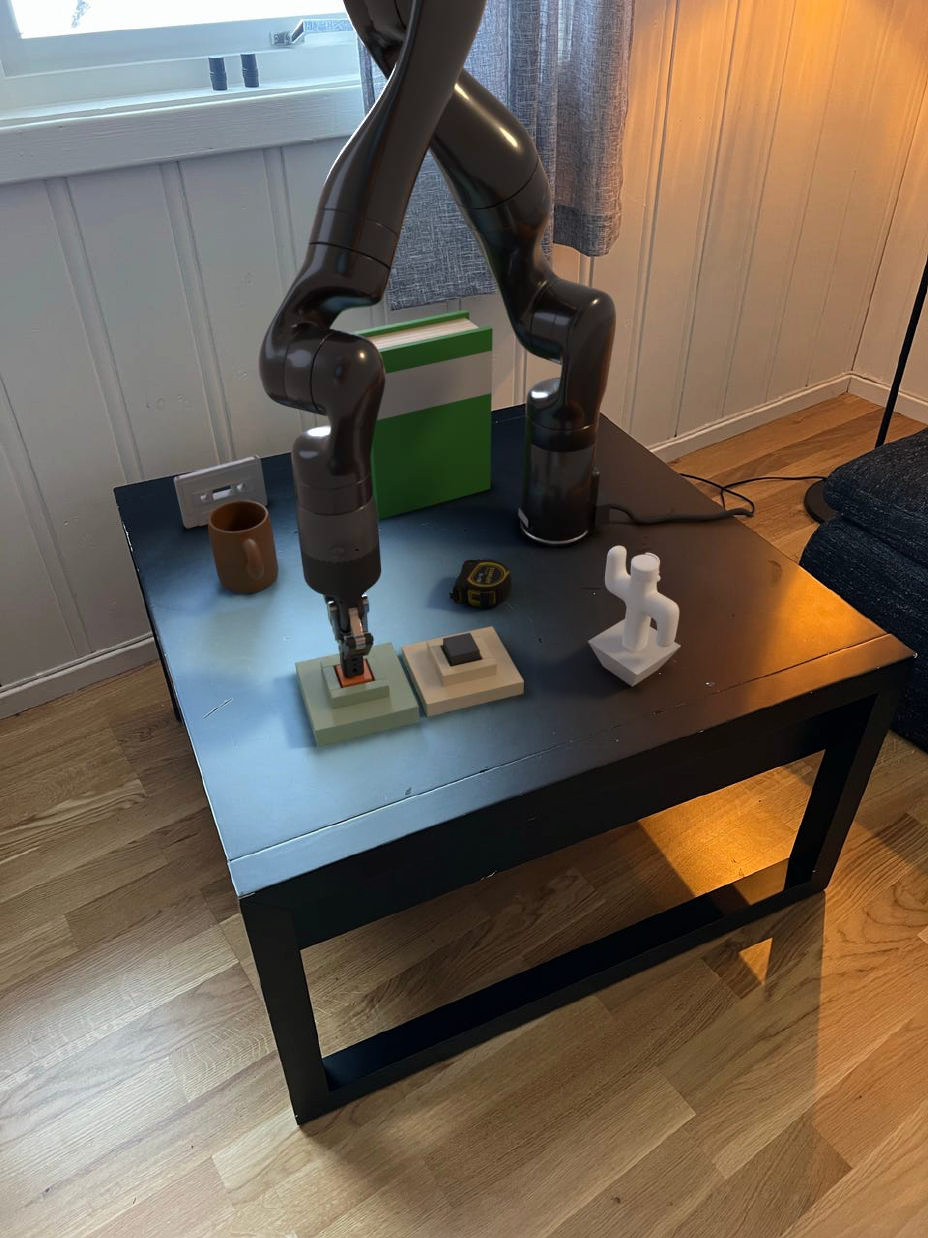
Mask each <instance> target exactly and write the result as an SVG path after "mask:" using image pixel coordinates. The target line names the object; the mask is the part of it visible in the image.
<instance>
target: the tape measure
mask: <svg viewBox="0 0 928 1238" xmlns="http://www.w3.org/2000/svg"><path fill="white" fill-rule="evenodd" d="M461 565H462V566H461V570H460V573H459V575H458V576H457V578H456V581H455V582H454V585H453V588H452V590H451V591H452V592H448V595H449V599H450V600H452V601H453V603H454V604H456V605H460V606H465V605H467V604H468V605H470V606H472V607H476V608H492V607H497V606H500V605H501V604H503V603H504V602H505V601H507V599H508V598H509V596H510V594H511V592H512V586H513V583H512V575H511V571H510V569H509V568H508V567H507V566H506V565H505V564H504V563H502V562H500V561H497V560H495V559H491V558H487V559H486V558H483V559H466V560H464V561H463V563H462V564H461Z"/></svg>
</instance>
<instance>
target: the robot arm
mask: <svg viewBox="0 0 928 1238" xmlns="http://www.w3.org/2000/svg"><path fill="white" fill-rule="evenodd" d="M341 2H342V5H343V7H344V10H345V13H346V15H347V17H348V20H349V22H350V24H351V27H352V29H353V30H354V31H355V33H356V35H357V37H358V38H359V40H360V42H361V43H362V45H363V47H364V48H365V51H367V53H368V54H369V56H370V58H371V59H372V61H373V62H374V63H375V65H376V66H377V68H378V70H379V71H380V72H381V74H382V76H383V77H384V78H385V80H386V81H387V83H386V84H385V86H384V87H383V89H382V91H381V93H380V95H379V97H378V98H377V100H376V101H375V103H374V104H373V106H372V108H371V109H370V110H369V113H368V114H367V115H366V116H365V118H364V119H363V121H362V122H361V123H360V125H359V126H358V128H357V129H356V130H355V132H354V133H353V134H352V136H351V137H350V139H349V140H348V141H347V143H346V145H344V147H343V148H342V150H341V151H340V153H339V155H338V156H337V158H336V160H335V161H334V163H333V165H332V166H331V168H330V170H329V172H328V174H327V175H326V178H325V181H324V184H323V186H322V188H321V192H320V195H319V197H318V202H317V205H316V209H315V215H314V219H313V222H312V226H311V231H310V235H309V239H308V242H307V247H306V251H305V256H304V260H303V262H302V265H301V266H300V268H299V271H298V272H297V274H296V275H295V278H294V279H293V281H292V282H291V285H290V287H289V288H288V291H287V292H286V295H285V296H284V297H283V300H282V302H281V303H280V305H279V307H278V309H277V310H276V313H275V314H274V316H273V318H272V320H271V322H270V323H269V326H268V328H267V330H266V332H265V333H264V336H263V338H262V342H261V344H260V348H259V354H258V373H259V380H260V383H261V385H262V386H261V387H262V389H263V390H264V392H265V394H266V395H267V396H268V397H269V399H270V400H272V401H273V402H275V403H276V404H279V405H281V406H283V407H286V408H287V407H288V408H292V409H296V410H300V411H303V412H308V413H312V414H315V415H318V416H319V415H320V416H323V417H327V419H328V422H329V424H327V425H319V426H314V427H311V428H308V429H306V430H304V431H303V432H301V433H300V434H298V435H297V437H295V439H294V440H293V443H292V445H291V451H290V461H291V468H292V470H291V471H292V477H293V485H294V493H295V500H296V510H295V511H296V512H295V513H296V514H295V515H296V517H295V518H296V527H297V535H298V541H299V551H300V557H301V565H302V572H303V578H304V582H305V583H306V584H307V586H308V587H309V588H310V589H311V590H312V591H314V592H316V593H318V594H320V595H322V598H323V601H324V604H325V605H326V612H327V618H328V621H329V624H330V626H331V627H332V629H331V630H332V633H333V636H334V640H335V641H336V643H337V645H338V646H337V648H338V652H339V653H340V662H341V668H342V671H343V674H344V677H345V678H351V677H355V676H360V675H363V674H364V660H363V656H366V655H368V654H369V652H370V650H371V648H372V646H374V641H375V638H374V635H372V633H371V632H370V631H369V621H368V619H369V618H368V614H369V612H370V601H369V597H368V594H365V593H367V592H368V591H369V590H370V589H371V588H372V587H374V586H375V585H377V583H378V582H379V580H380V578H381V576H382V559H381V558H382V557H381V545H380V529H379V520H378V516H377V509H376V504H375V500H374V495H373V483H372V470H371V450H372V444H373V438H374V433H375V428H376V422H377V418H378V413H379V409H380V405H381V401H382V397H383V393H384V388H385V383H386V370H385V365H384V362H383V359H382V356H381V354H380V352H379V350H378V349H377V347H376V346H375V345H374V343H373V342H372V341H370V340H369V339H368V338H366V337H364V336H361V335H358V334H354V333H351V332H349V331H344V330H339V329H335V328H331V327H332V326H333V324H334V323H335V321H336V320H337V318H338V317H339V316H340V315H341V314H342V313H343V312H345V311H348V310H353V309H354V310H355V309H362V308H370V307H374V306H376V305H378V304H380V303H381V301H382V300H383V299H384V297H385V294H386V291H387V289H388V285H389V281H390V277H391V272H392V270H393V265H394V261H395V258H396V255H397V250H398V246H399V242H400V238H401V234H402V231H403V227H404V222H405V217H406V215H407V211H408V209H409V208H408V207H409V204H410V200H411V197H412V194H413V191H414V188H415V185H416V182H417V179H418V176H419V174H420V171H421V168H422V165H423V163H424V160H425V159H426V156H427V154H428V152H429V154H430V156H431V157H432V159H433V161H434V162H435V165H436V167H437V168H438V171H439V172H440V174H441V176H442V179H443V181H444V183H445V185H446V187H447V189H448V193H449V195H450V196H451V198H452V200H453V201H454V203H455V205H456V208H457V209H458V211H459V214H460V216H461V217H462V219H463V221H464V223H465V226H466V227H467V228H468V230H469V232H470V234H471V235H472V237H473V239H474V241H475V242H476V244H477V246H478V249H479V251H480V253H481V256H482V257H483V259H484V261H485V264H486V265H487V267H488V270H489V272H490V274H491V275H492V277H493V280H494V282H495V284H496V287H497V290H498V292H499V295H500V297H501V301H502V303H503V306H504V309H505V311H506V314H507V317H508V320H509V323H510V325H511V328H512V331H513V333H514V335H515V338H516V340H517V341H518V343H519V344H520V346H521V347H522V348H523V349H524V350H525V351H526V352H528V353H529V354H530V355H532V356H535V357H537V358H540V359H543V360H545V361H548V362H552V363H555V364H557V365H560V366H561V368H560V369H561V370H560V376H557V377H552V378H547V379H544V380H542V381H539V382H537V383H535V384H534V385H532V386H531V387H530V388H529V390H528V391H527V394H526V398H525V418H524V419H525V420H524V441H523V442H524V443H523V464H522V465H523V466H522V488H521V489H522V490H521V491H522V492H521V508H518V514H517V515H518V517H519V519H520V521H519V529H520V532H521V534H522V535H523V536H524V537H525V538H526V539H527V540H528V541H530V542H532V543H535V544H537V545H540V546H544V547H549V548H563V547H571V546H574V545H576V544H578V543H580V542H582V541H583V540H585V539H586V538H587V536H591V535H594V534H595V528H596V526H599V525H604V524H609V523H610V512H611V509H612V510H617V511H620V512H622V513H624V514H626V515H627V516H628V518H629V519H630V520H631V521H632V522H634V523H637V524H640V525H653V524H658V523H659V524H660V523H664V522H665V523H666V522H670V521H698V522H699V521H705V522H707V521H716V520H717V521H718V520H722V519H725V518H728V517H730V516H735V515H744V516H745V517H746V518H749V519H750V518H751V519H752V518H754V517H755V516H754V514H753V513H752V511H750V510H749V509H747V508H744V507H735V508H731V509H730V508H729V509H727V510H725V511H721V512H717V513H711V514H689V513H687V514H685V513H679V514H678V513H677V514H676V513H674V514H665V515H659V516H654V517H640V516H637V515H636V514H635V513H634V511H633V510H632V509H631V508H630V507H628V506H626V505H624V504H621V503H616V502H612V501H610V500H608V498H607V497H606V496H605V495H604V493H602V491H601V490H600V481H601V480H600V479H601V472H600V470H599V469H598V468H597V467H596V466H595V465H596V455H597V444H598V434H599V423H600V422H599V421H600V413H601V407H602V403H603V399H604V398H605V394H606V390H607V387H608V383H609V382H608V381H609V375H610V367H611V361H612V354H613V349H614V343H615V335H616V328H617V327H616V325H617V311H616V305H615V303H614V300H613V297H612V296H611V295H610V294H609V293H608V292H605V290H601V289H599V288H595V287H592V286H588V285H584V284H581V283H578V282H574V281H571V280H568V279H564V278H562V277H560V276H558V274H556V273H555V271H554V270H553V269H552V267H551V265H550V264H549V262H548V259H547V258H546V255H545V253H544V249H543V247H542V241H543V239H544V236H545V233H546V230H547V228H548V225H549V221H550V218H551V212H552V207H553V195H552V188H551V185H550V180H549V178H548V175H547V172H546V170H545V168H544V165H543V162H542V160H541V157H540V155H539V152H538V150H537V147H536V144H535V142H534V140H533V138H532V136H531V134H530V133H529V131H528V130H527V129H526V127H525V125H524V124H523V123H522V121H520V119H519V118H518V117H517V116H516V115H515V114H514V112H512V110H510V109H509V108H508V107H507V106H506V105H505V104H504V103H503V102H502V101H501V100H499V99H498V98H497V97H496V96H495V95H494V94H493V93H492V92H491V91H489V90H488V89H487V88H486V87H485V86H484V85H483V84H482V83H480V82H479V81H478V80H477V78H476V77H474V76H473V75H472V74H471V73H470V72H469V71H468V70H467V69H466V68H465V67H464V66H465V64H466V62H467V59H468V56H469V54H470V52H471V49H472V48H473V47H472V46H473V45H474V42H475V40H476V37H477V34H478V31H479V29H480V27H481V23H482V19H483V16H484V13H485V9H486V6H487V2H488V1H487V0H341ZM339 653H338V654H339Z"/></svg>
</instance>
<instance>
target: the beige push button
mask: <svg viewBox="0 0 928 1238" xmlns="http://www.w3.org/2000/svg"><path fill="white" fill-rule="evenodd" d="M466 633H471V635H472V637H473V639H474V641H475V643H476V644H477V646H478V648H479V650H480V660H478V661H474V662H470V663H465V664H461V665H457V666H451V664H450V662H449V660H448V658H447V656H446V654H445V652H444V650H443V638H448V637H452V636H457V635H461V634H466ZM400 648H401V659H402V662H403V664H404V666H405V668H406V671H407V673H408V675H409V678H410V680H411V682H412V685H413V687H414V690H415V691H416V695H417V696H418V699H419V701H420V703H421V705H422V708H423V710H424V713H425V714H426V717H431V716H436V715H441V714H444V713H449V712H453V711H456V710H461V709H464V708H470V707H473V706H477V705H481V704H486V703H490V702H494V701H498V700H502V699H506V698H510V697H515V696H519V695H523V694H524V687H525V681H524V678H523V677H522V676H521V674H520V672H519V671H518V668H517V667H516V665H515V663H514V661H513V660H512V657H511V656H510V654H509V653H508V650H507V649H506V647H505V646H504V644H503V642H502V641H501V639H500V637H499V635H498V633H497V631H496V629H495V628H494V626H493V625H491V626H486V627H481V628H477V629H472V630H468V631H464V632H460V633H455V634H450V635H445V636H441V637H437V638H432V639H427V640H422V641H418V642H413V643H409V644H404V645H401V646H400Z"/></svg>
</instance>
